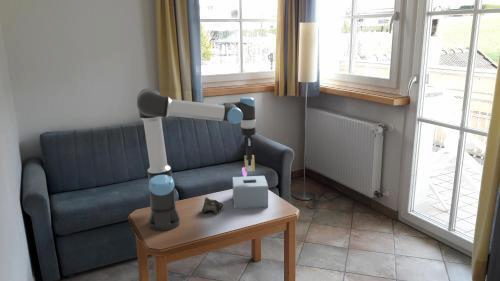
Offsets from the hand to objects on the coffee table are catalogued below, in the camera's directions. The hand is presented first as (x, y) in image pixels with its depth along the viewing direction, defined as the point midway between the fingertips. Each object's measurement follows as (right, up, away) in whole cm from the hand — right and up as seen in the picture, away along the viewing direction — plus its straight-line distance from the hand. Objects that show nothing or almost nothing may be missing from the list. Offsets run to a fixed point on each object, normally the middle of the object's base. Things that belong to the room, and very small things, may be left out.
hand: (249, 169), depth 219 cm
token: (0, 0, 0) cm, 0 cm away
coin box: (0, -18, +6) cm, 19 cm away
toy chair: (-1, -15, +20) cm, 25 cm away
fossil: (-19, -22, -4) cm, 29 cm away
